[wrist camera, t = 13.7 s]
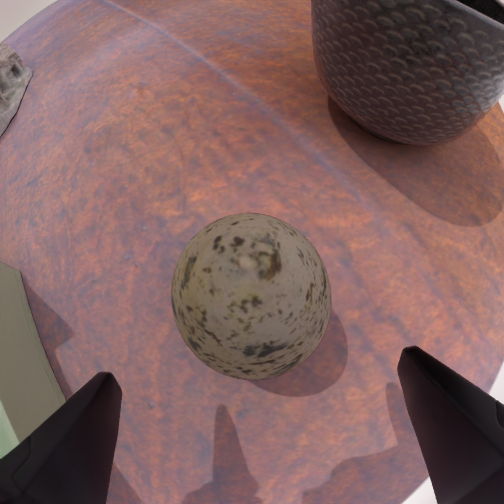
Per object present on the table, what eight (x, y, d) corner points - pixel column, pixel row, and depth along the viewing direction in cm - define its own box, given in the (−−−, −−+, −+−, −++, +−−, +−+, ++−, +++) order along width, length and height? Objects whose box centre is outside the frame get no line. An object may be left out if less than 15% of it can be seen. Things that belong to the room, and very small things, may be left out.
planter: (475, 196, 17) (576, 83, 5) (296, 161, 19) (314, -35, 6) (438, 80, 22) (479, -18, 9) (304, 49, 23) (310, -70, 11)
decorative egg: (236, 244, 17) (201, 116, 8) (331, 293, 16) (413, 210, 6) (181, 336, 15) (68, 306, 6) (278, 392, 14) (297, 456, 5)
